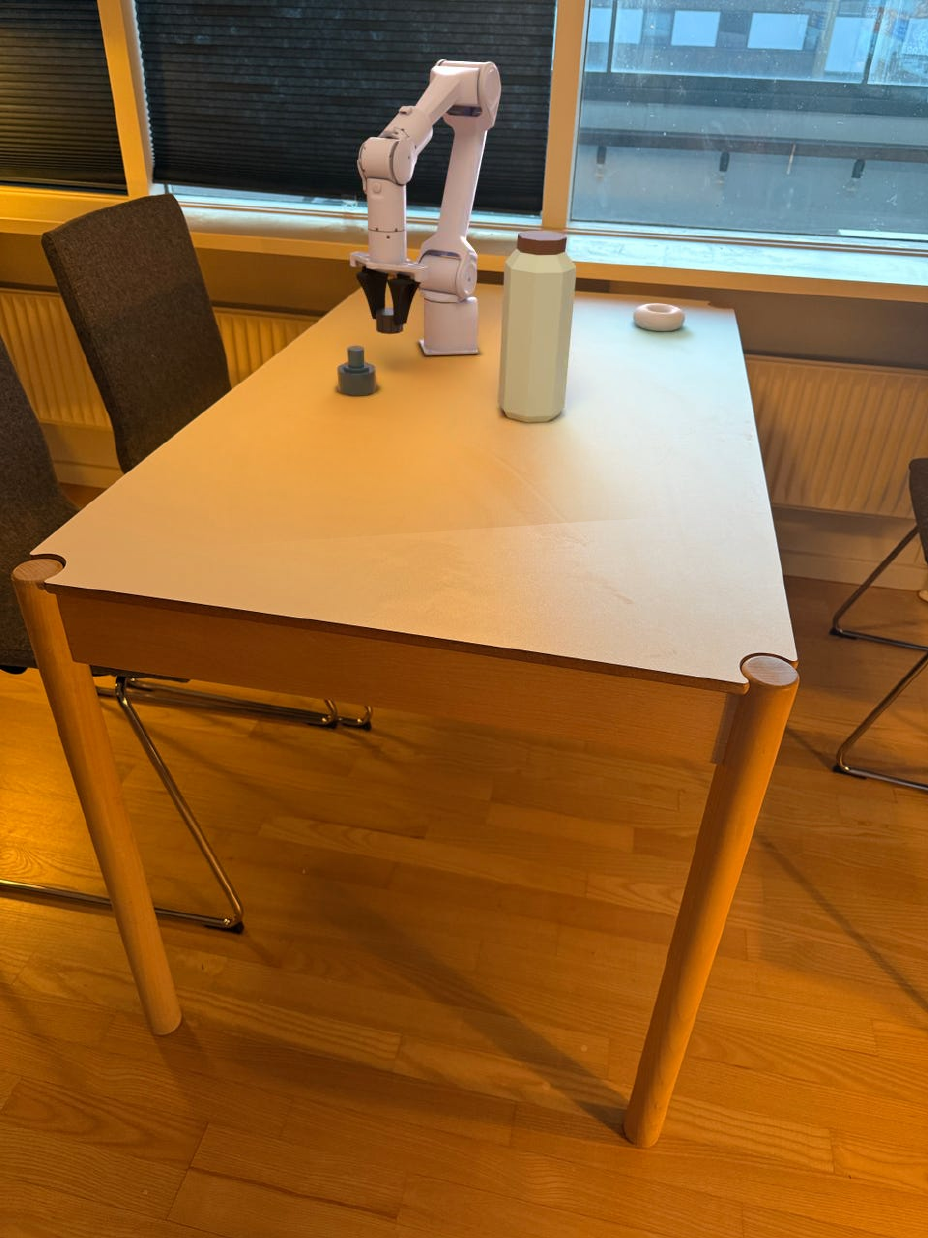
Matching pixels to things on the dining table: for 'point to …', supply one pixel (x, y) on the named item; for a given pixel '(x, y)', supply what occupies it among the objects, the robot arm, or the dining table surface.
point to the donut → (659, 317)
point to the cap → (386, 322)
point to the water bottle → (536, 327)
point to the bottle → (356, 374)
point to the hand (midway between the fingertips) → (389, 320)
